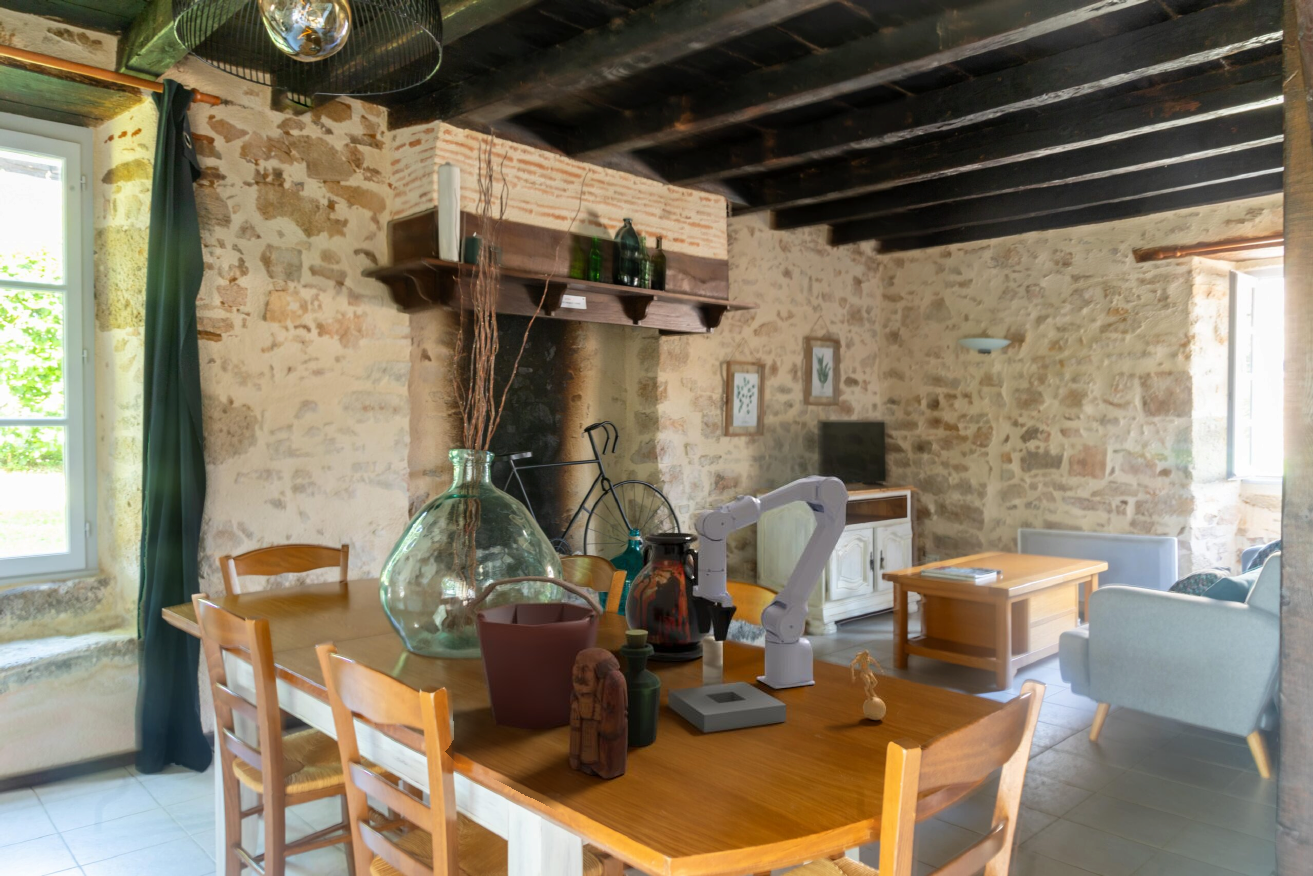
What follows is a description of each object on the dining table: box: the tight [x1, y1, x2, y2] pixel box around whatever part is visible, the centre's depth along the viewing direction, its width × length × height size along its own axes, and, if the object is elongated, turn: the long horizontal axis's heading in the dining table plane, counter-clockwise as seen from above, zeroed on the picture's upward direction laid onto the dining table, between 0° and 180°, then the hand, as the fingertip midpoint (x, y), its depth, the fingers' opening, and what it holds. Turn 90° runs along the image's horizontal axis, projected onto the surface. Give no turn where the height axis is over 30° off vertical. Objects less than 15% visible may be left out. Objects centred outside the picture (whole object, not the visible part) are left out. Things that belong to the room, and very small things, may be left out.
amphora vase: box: [624, 532, 717, 662], centre depth 203 cm, size 22×22×28 cm
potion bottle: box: [618, 630, 662, 747], centre depth 144 cm, size 8×8×18 cm
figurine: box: [849, 650, 887, 721], centre depth 156 cm, size 8×6×12 cm
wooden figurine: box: [568, 647, 628, 780], centre depth 132 cm, size 12×6×18 cm, turn 45°
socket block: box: [668, 681, 787, 734], centre depth 158 cm, size 16×16×3 cm
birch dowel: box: [702, 635, 724, 686], centre depth 175 cm, size 4×4×10 cm
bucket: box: [467, 575, 604, 731], centre depth 159 cm, size 24×22×25 cm
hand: (712, 636), depth 175 cm, fingers open, 7 cm apart
